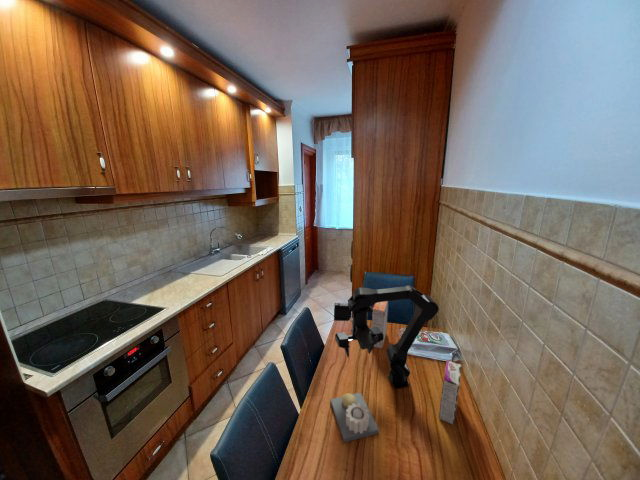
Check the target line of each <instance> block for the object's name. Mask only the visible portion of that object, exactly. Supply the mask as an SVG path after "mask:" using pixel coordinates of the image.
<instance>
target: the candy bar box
mask: <svg viewBox="0 0 640 480" xmlns="http://www.w3.org/2000/svg"><path fill="white" fill-rule="evenodd" d="M461 373H462V364H460V363H457V362H454V361H451V360H449V359H448V360H446V363H445V369H444V374H443V382H442V389H441V395H440V396H441V397H440V405H439V416H438V418H439V420H441V421H444V422H446V423H448V424H450V425H451V426H452V425H453V426H454V425H455V420H456V419H455V418H456V414H457V407H458V398H459V392H460V391H459V390H460V384H461V376H462V375H461Z"/></svg>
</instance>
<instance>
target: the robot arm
mask: <svg viewBox="0 0 640 480" xmlns="http://www.w3.org/2000/svg"><path fill="white" fill-rule="evenodd" d="M403 300H410V301H412V302H413V303H414V304H415V305H414V311H413V315H412V317H411V319H410V320H409V322H408V324H407V325H406V326H405V329H404V331H403V332H402V334H401V336H400V338H399V339H398V341H397V342H396V343H394V344H393V343H389V345H388V348H387V349H386V351H385V352H386V358H387V360H388V364H389V367H390V371H389V375H387V379H388V380H389V382H390V383H391V384H392V385H393V387H394V388H395V389H396V390H397V389H401V388H406V387H410V386H411V384H410V383H409V381H408V380H409V376H410V374H411V371H410V368H409V366H408V364H407V361H408V354H409V351H410V349H411V347H412V345H413V344H414V343H415V341H416V339H417V337H418V336H419V334H420V332H421V331H422V329H423V328H424V326H425V324H426V323H427V322H429V321H432V319H434V317H436V316H437V314H438V313H439V310H440V309H439V305H438V304H437V303H436V301H435V300H434V299H433V297H431V296H430V295H429V294H424V293H422V292H421V291H420V290H418V289H417V288H415V287H414V286H412V285H410V284H409V285H405V286H396V287H390V288H380V289H375V288H374V289H373V288H369V287H357V288H355V289H354V290H353V292H352V295H351V296H350V297H349V298H348V299H347V303H340V302H335V303H334V308H333V321H334V322H349V321H351V323H352V324H351V329H350V331H351V334H348V335H347V334H346V332H345V331H342V332H336V333H335V334H334V341H335V342H336V344H337V346H338V347H339V348H341V349H344V352H345V355H346V357H347V358H349V357H350V346H349V345H350V342H352V341H357V342H358V345H359V348H360V349H361V350H363V351H364V350H367V353H368V354H369V355H370V354H371V352H372V351H373V348H375V347H374V345H376V344H377V343H378V342H380V341H382V340H383V339H384V335H383V333H382V332H381V330H380V329H379V328H378V327H372V326H371V327H369V324H368V314H369V313H372V312H373V306H374V305H375V303H378V302H385V301H388V302H392V301H393V302H394V301H403ZM350 319H351V320H350Z"/></svg>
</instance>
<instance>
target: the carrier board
mask: <svg viewBox="0 0 640 480" xmlns="http://www.w3.org/2000/svg"><path fill="white" fill-rule="evenodd" d="M353 403H355V404H356V405H357V404H358V403H359V404H360V405H361V406H363V405H364V406H365V409H366V410H368V414H369V425H368V427H367V430H366V431H363V433H361V434H360V432H357V434H356V433H354V431H350V430H349V426H347V425H346V409H348V406H349V405H350V406H352V404H353ZM330 405H331V408H332V411H333V414H334V417H335V420H336V423H337V425H338V429H339V431H340V435H341V437H342V440H343V443H347V442H350V441H351V442H352V441H354V440H358V439H362V438H365V437H369V436H373V435H376V434H379V432H380V429H379V426H378V424H377V422H376V420H375V419H374V416H373V415H372V413H371V410H370V409H369V407H368V405H367V403H366V401H365V399H364V397H363V394H362V393H361V392H357V393H350V392H349V393H344V394H343V395H342V396H338V397H334V398H331V399H330ZM353 418H355V419H358V420H359V419H362V412H361V410H359V409H355V410H354V411H353Z"/></svg>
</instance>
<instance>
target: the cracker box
mask: <svg viewBox="0 0 640 480" xmlns="http://www.w3.org/2000/svg"><path fill="white" fill-rule="evenodd" d="M388 308H389V301H385V302H378V303H375V304H374V305H373V306H372V309H373V312H371V313H372V315H371V317H372V318H371V319H372V320H371V321H372V322H371V328H372V327H378V328H379V329H380V330H381V332H382V333H383V335H384V339H383V340H382V341H380V342H378V343H377V344H376V345H374V347H373V348H377V349H380V350H383V347H384V344H385V341H386V340H385V339H386V336H387V325H388V324H387V323H388V312H389V309H388Z"/></svg>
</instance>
